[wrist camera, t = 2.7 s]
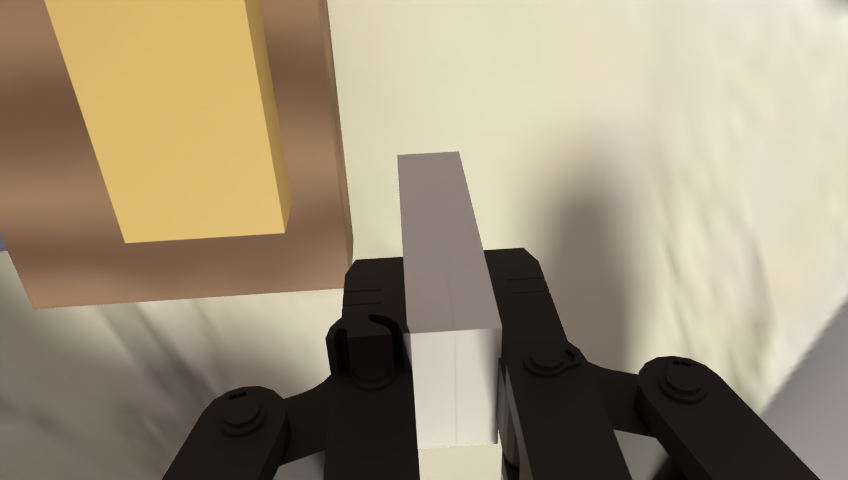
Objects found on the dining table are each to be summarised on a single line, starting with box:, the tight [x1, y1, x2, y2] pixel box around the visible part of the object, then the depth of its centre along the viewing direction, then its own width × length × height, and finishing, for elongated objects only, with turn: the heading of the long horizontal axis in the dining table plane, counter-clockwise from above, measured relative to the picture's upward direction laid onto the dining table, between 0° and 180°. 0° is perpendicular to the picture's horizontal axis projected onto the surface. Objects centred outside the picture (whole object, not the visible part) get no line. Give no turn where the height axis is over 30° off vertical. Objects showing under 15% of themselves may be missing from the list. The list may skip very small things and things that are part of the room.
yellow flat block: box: [44, 0, 292, 243], centre depth 23 cm, size 9×6×2 cm, turn 2°
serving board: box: [0, 0, 353, 309], centre depth 26 cm, size 18×14×4 cm
